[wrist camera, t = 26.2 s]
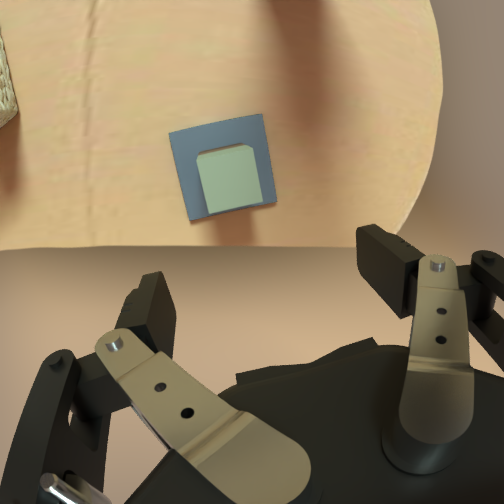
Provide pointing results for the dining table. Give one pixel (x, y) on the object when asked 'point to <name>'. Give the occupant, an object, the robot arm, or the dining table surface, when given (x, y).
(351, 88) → the dining table surface
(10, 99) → the storage basket
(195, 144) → the base board
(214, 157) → the sage green block
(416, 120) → the dining table surface
